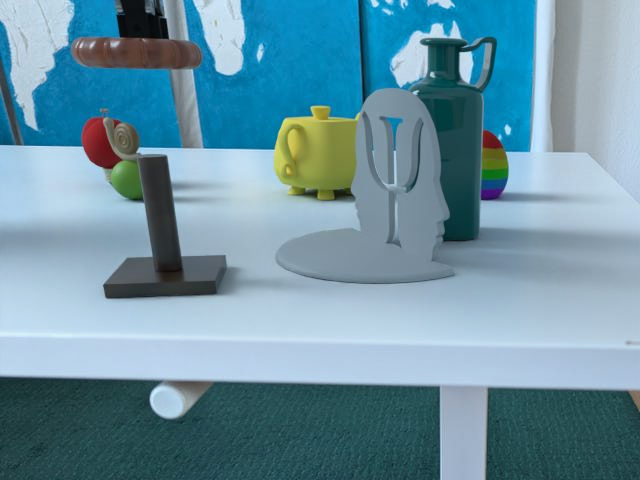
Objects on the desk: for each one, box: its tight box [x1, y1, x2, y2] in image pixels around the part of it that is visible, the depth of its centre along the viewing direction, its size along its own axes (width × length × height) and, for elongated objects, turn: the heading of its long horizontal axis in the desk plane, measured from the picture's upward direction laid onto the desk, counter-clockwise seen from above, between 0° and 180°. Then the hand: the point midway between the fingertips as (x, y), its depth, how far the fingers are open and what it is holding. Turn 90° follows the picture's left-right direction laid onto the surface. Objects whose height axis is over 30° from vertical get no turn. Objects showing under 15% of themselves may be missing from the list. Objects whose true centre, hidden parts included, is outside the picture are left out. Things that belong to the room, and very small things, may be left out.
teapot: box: [273, 105, 361, 201], centre depth 108 cm, size 14×20×13 cm
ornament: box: [275, 87, 455, 284], centre depth 70 cm, size 22×13×17 cm, turn 38°
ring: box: [70, 36, 204, 70], centre depth 58 cm, size 10×10×2 cm
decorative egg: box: [481, 129, 510, 200], centre depth 109 cm, size 8×8×10 cm
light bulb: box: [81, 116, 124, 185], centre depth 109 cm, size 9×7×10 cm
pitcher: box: [405, 36, 498, 241], centre depth 82 cm, size 10×8×22 cm
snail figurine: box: [99, 108, 144, 200], centre depth 98 cm, size 5×6×12 cm
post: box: [102, 153, 228, 299], centre depth 63 cm, size 9×9×11 cm
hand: (149, 65), depth 61 cm, fingers closed on ring, 2 cm apart
